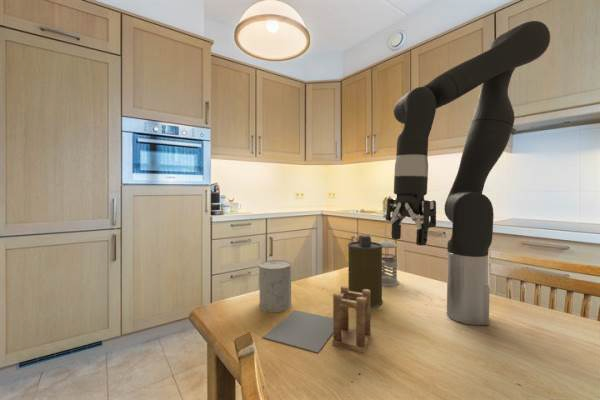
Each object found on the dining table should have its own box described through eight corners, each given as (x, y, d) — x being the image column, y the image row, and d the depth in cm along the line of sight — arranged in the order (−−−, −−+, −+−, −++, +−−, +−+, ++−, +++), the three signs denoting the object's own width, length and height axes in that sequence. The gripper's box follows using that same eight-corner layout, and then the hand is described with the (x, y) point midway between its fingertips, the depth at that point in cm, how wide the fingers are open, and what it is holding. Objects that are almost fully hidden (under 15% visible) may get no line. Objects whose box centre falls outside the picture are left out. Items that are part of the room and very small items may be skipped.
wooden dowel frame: (371, 336, 64) (371, 289, 64) (363, 352, 58) (363, 300, 58) (342, 330, 68) (342, 285, 67) (332, 344, 61) (332, 295, 61)
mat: (342, 320, 72) (342, 320, 72) (318, 353, 58) (318, 352, 58) (294, 310, 79) (294, 310, 79) (262, 337, 64) (262, 336, 64)
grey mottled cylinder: (296, 301, 85) (296, 262, 85) (282, 314, 76) (281, 270, 76) (270, 297, 89) (269, 259, 89) (252, 308, 80) (252, 266, 80)
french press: (404, 286, 98) (404, 215, 97) (371, 286, 98) (371, 215, 97) (394, 277, 108) (394, 213, 107) (364, 277, 107) (364, 213, 107)
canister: (386, 307, 80) (386, 238, 79) (350, 307, 80) (350, 239, 80) (377, 293, 91) (377, 232, 90) (345, 293, 91) (345, 233, 91)
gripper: (447, 174, 62) (443, 247, 62) (402, 177, 75) (400, 236, 76) (420, 173, 59) (417, 248, 60) (379, 175, 72) (377, 237, 73)
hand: (407, 241), depth 68 cm, fingers open, 8 cm apart
